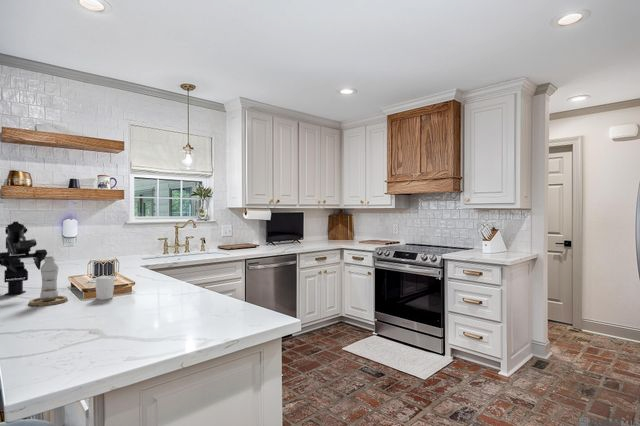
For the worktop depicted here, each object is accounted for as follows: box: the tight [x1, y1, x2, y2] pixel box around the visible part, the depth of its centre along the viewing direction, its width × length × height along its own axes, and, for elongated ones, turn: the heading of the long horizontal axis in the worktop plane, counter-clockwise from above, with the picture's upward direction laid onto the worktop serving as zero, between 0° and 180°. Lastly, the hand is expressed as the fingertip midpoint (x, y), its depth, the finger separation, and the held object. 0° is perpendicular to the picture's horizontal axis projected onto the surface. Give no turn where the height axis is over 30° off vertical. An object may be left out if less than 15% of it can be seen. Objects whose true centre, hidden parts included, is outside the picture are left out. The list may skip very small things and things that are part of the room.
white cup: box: [94, 275, 115, 301], centre depth 175 cm, size 8×8×10 cm
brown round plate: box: [27, 295, 69, 307], centre depth 166 cm, size 14×14×1 cm
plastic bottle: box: [39, 256, 59, 301], centre depth 166 cm, size 6×7×20 cm
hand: (27, 270), depth 171 cm, fingers open, 9 cm apart
